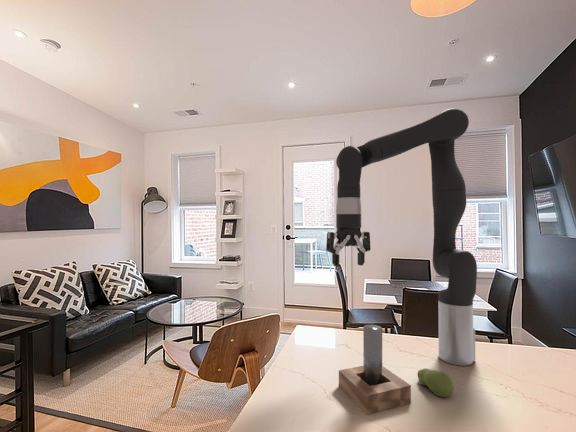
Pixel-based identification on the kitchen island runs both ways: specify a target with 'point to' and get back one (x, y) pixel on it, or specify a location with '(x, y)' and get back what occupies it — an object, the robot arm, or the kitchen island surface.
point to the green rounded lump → (436, 382)
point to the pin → (372, 354)
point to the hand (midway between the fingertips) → (348, 265)
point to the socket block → (374, 390)
